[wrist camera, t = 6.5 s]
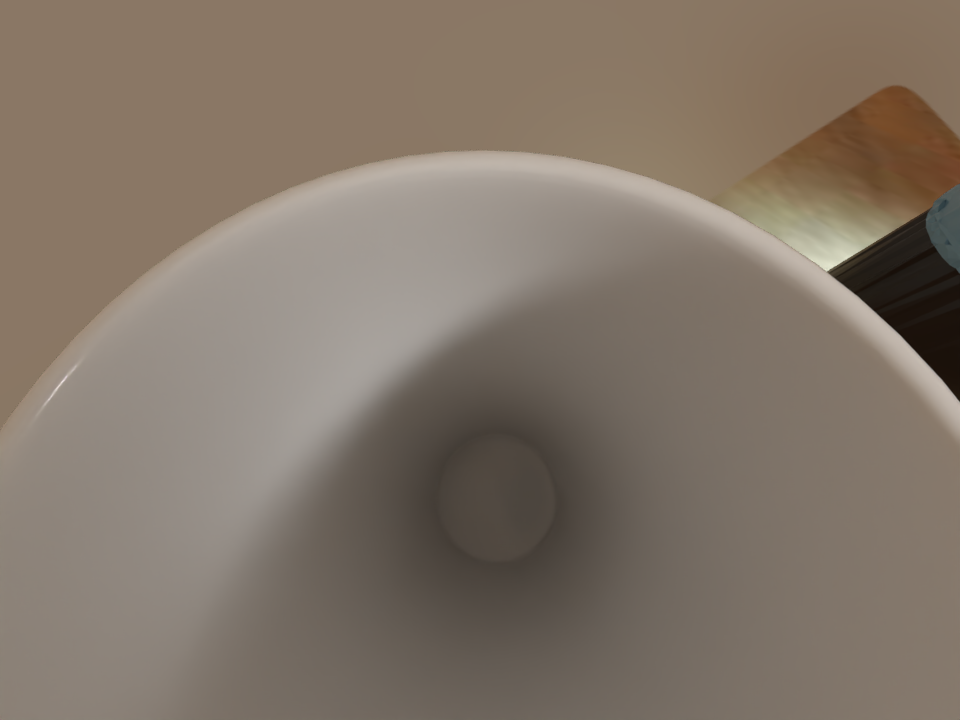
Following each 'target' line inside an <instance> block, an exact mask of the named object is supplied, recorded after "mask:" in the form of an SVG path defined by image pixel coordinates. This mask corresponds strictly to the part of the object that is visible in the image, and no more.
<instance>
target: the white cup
mask: <svg viewBox="0 0 960 720" xmlns="http://www.w3.org/2000/svg"><path fill="white" fill-rule="evenodd" d="M0 720H960V401H959V400H958V399H957V398H956V396H955V395H954V394H953V393H952V391H951V390H950V389H949V388H948V386H947V385H946V384H945V383H944V381H943V380H942V379H941V378H940V377H939V376H938V375H937V374H936V373H935V372H934V371H933V369H932V368H931V367H930V366H929V365H928V364H927V363H926V362H925V361H924V360H923V359H922V358H921V357H920V356H919V355H918V353H917V352H916V351H915V350H914V349H913V348H912V347H911V346H910V345H909V344H908V343H907V342H906V341H905V340H904V339H903V337H902V336H901V335H900V334H898V333H897V332H896V331H895V330H894V329H893V328H892V327H891V326H890V325H889V324H888V323H886V322H885V321H884V320H883V319H882V318H881V317H880V316H879V315H878V314H877V313H876V312H874V311H873V310H872V309H871V308H870V307H869V306H868V305H867V304H866V303H865V302H864V301H862V300H861V299H860V298H859V297H858V296H857V295H855V294H854V293H853V292H852V291H850V290H849V289H848V288H847V287H845V286H844V285H843V284H841V283H840V282H839V281H838V280H836V279H835V278H834V277H833V276H831V275H830V274H829V273H827V272H826V271H825V270H824V269H822V268H821V267H820V266H819V265H817V264H816V263H814V262H813V261H811V260H810V259H808V258H807V257H805V256H804V255H802V254H801V253H799V252H798V251H796V250H795V249H793V248H792V247H790V246H789V245H787V244H786V243H784V242H783V241H781V240H780V239H778V238H777V237H775V236H774V235H772V234H770V233H769V232H767V231H765V230H763V229H761V228H760V227H758V226H756V225H754V224H753V223H751V222H749V221H747V220H745V219H744V218H742V217H740V216H738V215H737V214H735V213H733V212H731V211H729V210H727V209H725V208H722V207H720V206H718V205H716V204H714V203H712V202H709V201H707V200H705V199H703V198H701V197H699V196H697V195H694V194H692V193H690V192H687V191H685V190H682V189H679V188H677V187H674V186H671V185H669V184H666V183H663V182H661V181H658V180H655V179H653V178H650V177H647V176H643V175H640V174H636V173H633V172H629V171H626V170H622V169H619V168H615V167H612V166H608V165H604V164H599V163H594V162H589V161H584V160H579V159H574V158H570V157H563V156H554V155H547V154H539V153H531V152H518V151H496V150H494V151H493V150H473V151H445V152H436V153H428V154H418V155H410V156H403V157H398V158H392V159H387V160H382V161H377V162H372V163H367V164H363V165H360V166H356V167H352V168H349V169H345V170H341V171H338V172H334V173H330V174H327V175H324V176H321V177H319V178H316V179H313V180H310V181H307V182H305V183H302V184H299V185H296V186H293V187H291V188H288V189H286V190H284V191H282V192H279V193H277V194H275V195H272V196H270V197H268V198H266V199H264V200H261V201H259V202H257V203H254V204H252V205H251V206H249V207H247V208H245V209H243V210H241V211H239V212H237V213H236V214H234V215H232V216H230V217H228V218H226V219H224V220H222V221H221V222H219V223H217V224H215V225H214V226H212V227H211V228H209V229H207V230H206V231H204V232H203V233H201V234H199V235H198V236H196V237H195V238H193V239H191V240H190V241H188V242H187V243H185V244H183V245H182V246H181V247H179V248H178V249H176V250H175V251H174V252H172V253H171V254H170V255H168V256H167V257H165V258H164V259H163V260H161V261H160V262H159V263H157V264H156V265H155V266H153V267H152V268H151V269H149V270H148V271H147V272H145V273H144V274H143V275H142V276H140V277H139V278H138V279H137V280H136V281H135V282H134V283H132V284H131V285H130V286H129V287H127V288H126V289H125V290H124V291H123V292H122V293H120V294H119V295H118V296H117V297H116V298H115V299H113V300H112V301H111V302H110V303H109V304H108V305H107V306H106V307H105V308H104V309H103V310H102V311H101V312H100V313H99V314H98V315H97V316H96V317H94V318H93V319H92V320H91V321H90V322H89V323H88V324H87V325H86V327H84V328H83V329H82V330H81V331H80V332H79V333H78V334H77V335H76V336H75V338H73V340H72V341H71V342H70V343H69V344H68V345H67V346H66V347H65V349H64V350H63V351H62V352H61V353H60V354H59V355H58V356H57V357H56V359H55V360H54V361H53V362H52V363H51V364H50V365H49V367H48V368H47V369H46V370H45V371H44V372H43V373H42V374H41V376H40V377H39V378H38V380H37V381H36V382H35V383H34V385H33V386H32V387H31V389H30V390H29V391H28V392H27V394H26V395H25V396H24V398H23V399H22V400H21V401H20V403H19V404H18V405H17V407H16V408H15V409H14V411H13V412H12V413H11V414H10V416H9V418H8V419H7V420H6V422H5V423H4V425H3V426H2V428H1V429H0Z"/></svg>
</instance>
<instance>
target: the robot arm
mask: <svg viewBox="0 0 960 720" xmlns="http://www.w3.org/2000/svg"><path fill="white" fill-rule="evenodd" d="M827 273H829V274H830V275H831V276H833V277H834V278H835V279H836V280H838V281H839V282H840V283H841V284H843V285H844V286H845V287H847V288H848V289H849V290H850V291H852V292H853V293H854V294H855V295H857V296H858V297H859V298H860V299H861V300H862V301H864V302H865V303H866V304H867V305H868V306H869V307H870V308H871V309H872V310H873V311H874V312H876V313H877V314H878V315H879V316H880V317H881V318H882V319H883V320H884V321H885V322H886V323H888V324H889V325H890V326H891V327H892V328H893V329H894V330H895V331H896V332H897V333H898V334H900V335H901V336H902V337H903V339H904V340H905V341H906V342H907V343H908V344H909V345H910V346H911V347H912V348H913V349H914V350H915V351H916V352H917V353H918V355H919V356H920V357H921V358H922V359H923V360H924V361H925V362H926V363H927V364H928V365H929V366H930V367H931V368H932V369H933V371H934V372H935V373H936V374H937V375H938V376H939V377H940V378H941V379H942V380H943V381H944V383H945V384H946V385H947V386H948V388H949V389H950V390H951V391H952V393H953V394H954V395H955V396H956V398H957V399H958V400H959V401H960V184H958V185H956V186H955V187H953V188H952V189H950V190H949V191H947V192H946V193H945V194H943V195H942V196H941V197H940V198H938V199H937V200H936V201H935V202H934V204H933V207H932V208H930V209H929V210H927V211H925V212H924V213H922V214H920V215H919V216H917V217H915V218H914V219H912V220H911V221H909V222H907V223H906V224H904V225H902V226H901V227H899V228H897V229H896V230H894V231H892V232H891V233H889V234H888V235H886V236H884V237H883V238H881V239H879V240H878V241H876V242H874V243H873V244H871V245H870V246H868V247H866V248H865V249H863V250H861V251H860V252H858V253H856V254H855V255H853V256H851V257H850V258H848V259H847V260H845V261H843V262H842V263H840V264H838V265H837V266H835V267H833V268H832V269H830V270H829V271H827Z"/></svg>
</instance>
